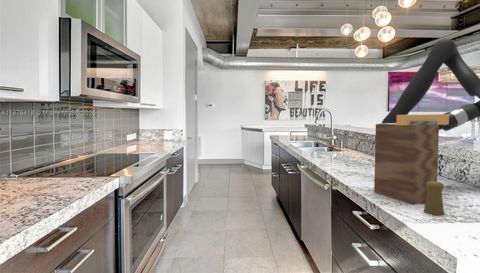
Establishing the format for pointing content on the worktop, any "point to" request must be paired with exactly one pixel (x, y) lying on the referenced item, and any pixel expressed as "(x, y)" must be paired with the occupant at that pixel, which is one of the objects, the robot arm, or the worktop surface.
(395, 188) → the walnut stand
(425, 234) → the worktop surface
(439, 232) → the worktop surface
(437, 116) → the wooden bar
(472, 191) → the worktop surface
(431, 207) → the cork
